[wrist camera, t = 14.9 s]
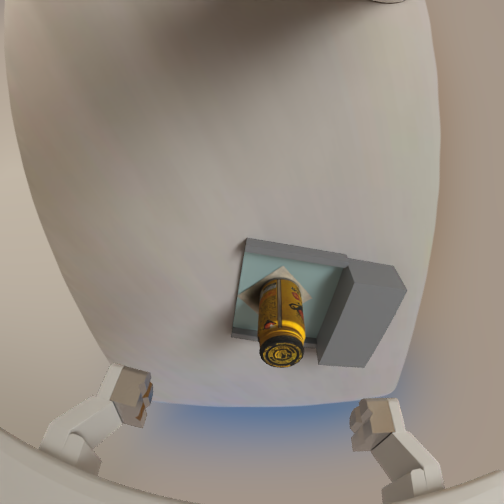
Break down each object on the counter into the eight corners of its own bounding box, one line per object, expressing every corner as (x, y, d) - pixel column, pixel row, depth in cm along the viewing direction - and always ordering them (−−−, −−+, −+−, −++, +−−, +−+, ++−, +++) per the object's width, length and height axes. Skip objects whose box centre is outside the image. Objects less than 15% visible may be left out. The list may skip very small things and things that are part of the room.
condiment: (312, 297, 45) (321, 358, 34) (267, 323, 48) (265, 384, 37) (283, 264, 42) (285, 324, 32) (237, 294, 45) (227, 355, 35)
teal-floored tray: (246, 237, 41) (243, 261, 36) (394, 263, 41) (408, 287, 36) (232, 328, 49) (228, 355, 44) (356, 343, 50) (363, 369, 45)
